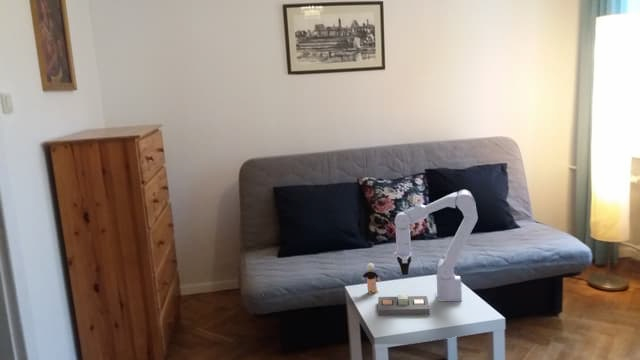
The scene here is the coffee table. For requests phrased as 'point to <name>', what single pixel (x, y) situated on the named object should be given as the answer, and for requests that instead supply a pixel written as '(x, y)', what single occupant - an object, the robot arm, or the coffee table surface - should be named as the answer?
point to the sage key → (402, 300)
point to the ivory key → (419, 302)
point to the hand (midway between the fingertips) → (404, 274)
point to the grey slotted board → (403, 307)
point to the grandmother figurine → (371, 279)
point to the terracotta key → (387, 302)
